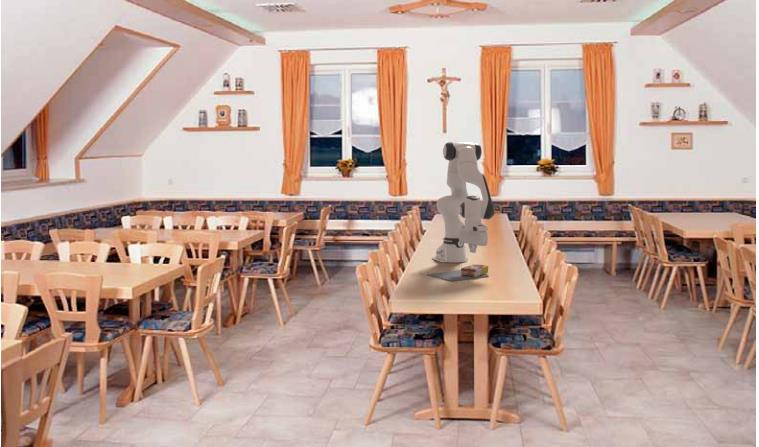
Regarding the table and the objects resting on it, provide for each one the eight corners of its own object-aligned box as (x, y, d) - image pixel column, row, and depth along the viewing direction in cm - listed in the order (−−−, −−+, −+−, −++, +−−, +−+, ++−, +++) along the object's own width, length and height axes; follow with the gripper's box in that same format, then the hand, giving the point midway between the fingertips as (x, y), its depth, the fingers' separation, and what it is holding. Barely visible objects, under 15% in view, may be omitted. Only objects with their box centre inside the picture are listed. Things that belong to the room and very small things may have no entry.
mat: (426, 275, 413) (426, 274, 412) (462, 270, 425) (462, 269, 425) (451, 281, 394) (451, 280, 394) (488, 276, 406) (488, 275, 406)
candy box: (473, 271, 419) (460, 275, 407) (473, 264, 419) (460, 267, 406) (488, 273, 414) (475, 277, 402) (488, 265, 414) (475, 269, 401)
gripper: (456, 225, 419) (456, 250, 420) (480, 228, 401) (480, 255, 403) (465, 224, 422) (465, 249, 424) (489, 228, 405) (489, 254, 406)
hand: (472, 252), depth 413 cm, fingers closed
